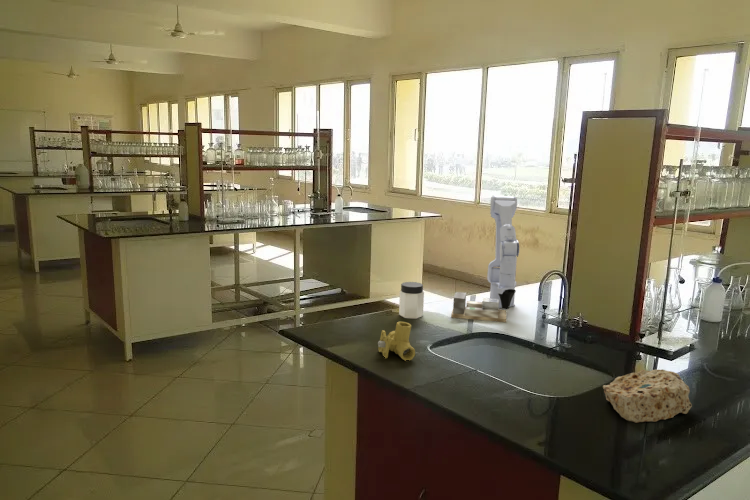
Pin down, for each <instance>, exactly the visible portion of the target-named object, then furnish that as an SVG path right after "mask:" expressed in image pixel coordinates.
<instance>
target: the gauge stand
mask: <svg viewBox="0 0 750 500" xmlns="http://www.w3.org/2000/svg"><path fill="white" fill-rule="evenodd" d="M466 300H467V292H461V291H456V292H455V293H454V295H453V303H452V304H453V306H452V307H453V308H452V311H451V314H450V318H451V317H452V319H464V320H474V321H475V320H476V321H477V320H478V321H486V322H499V323H507V309H500V308H499V309H498V310H497V309H482V301H474V300H473V301H470V300H467V301H466Z"/></svg>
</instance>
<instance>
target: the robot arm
mask: <svg viewBox="0 0 750 500" xmlns="http://www.w3.org/2000/svg"><path fill="white" fill-rule="evenodd" d="M489 203H490V205H489V206H490V208H489V209H490V210H489V215H490V217H491V218H492V219H494V220H495V221H494V223H495V247H494V248H495V249H494V250H495V252H494V253H495V258H494V259H493V260H492V261H490V262H489V263H488V266H487V277H486V278H487V282H488V283H489V284H490V291H489V298H493V299H499V309H501V310H508V309H510V307H515V306H516V304H515V297H516V296H515V295H516V291H517V290H515V288H516V287H517V281H516V273H517V261H518V257H519V254H520V242H519V240H518V238H517V234H516V228H515V226H514V225H513V218H514V216H515V213H516V211H517V209H518V198H517V196H515V195H514V196H511V195H509V196H508V195H507V196H506V195H504V196H503V195H492V196H491V197H490V202H489Z"/></svg>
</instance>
